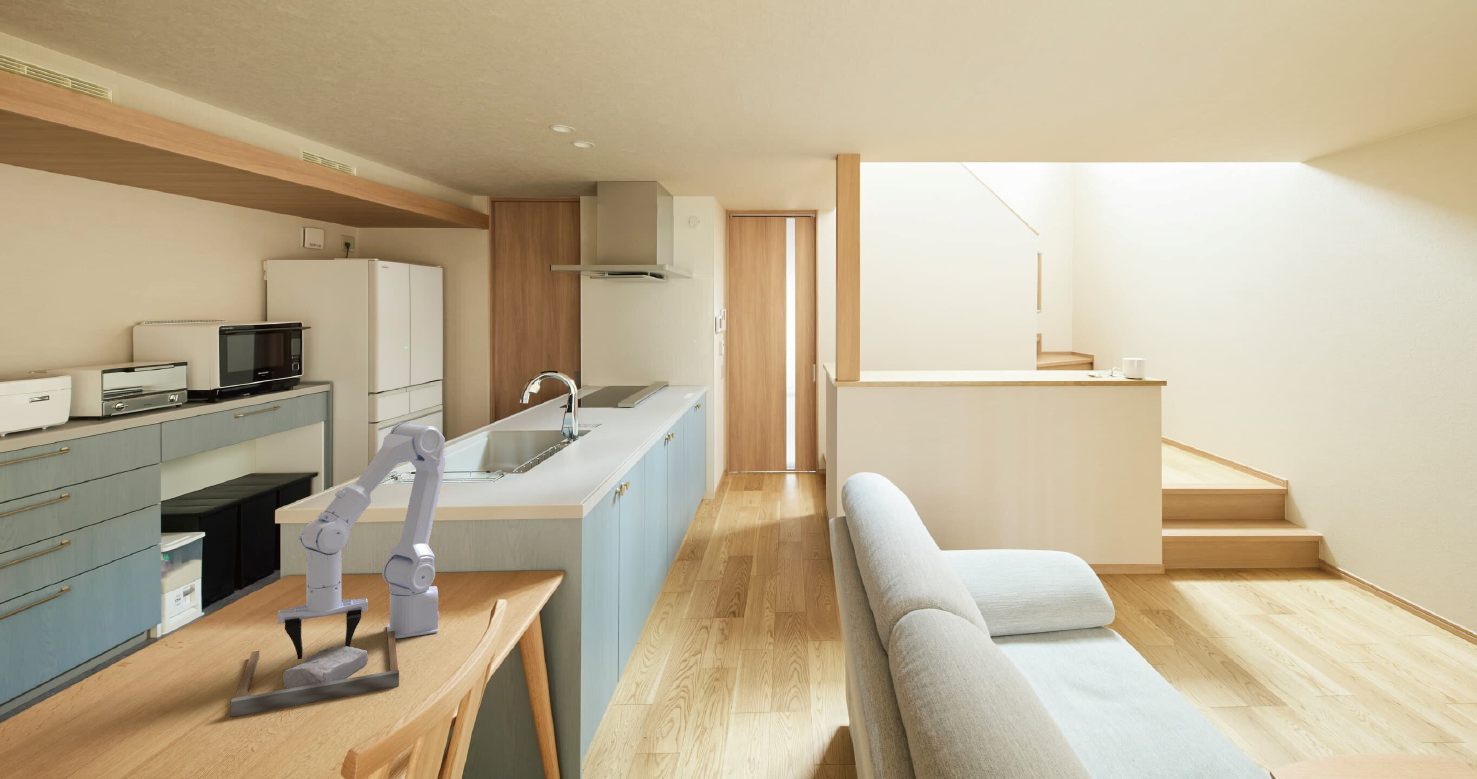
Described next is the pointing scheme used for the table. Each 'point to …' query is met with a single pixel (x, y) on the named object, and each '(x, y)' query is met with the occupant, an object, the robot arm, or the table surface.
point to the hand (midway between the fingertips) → (324, 653)
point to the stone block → (326, 666)
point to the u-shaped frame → (311, 687)
